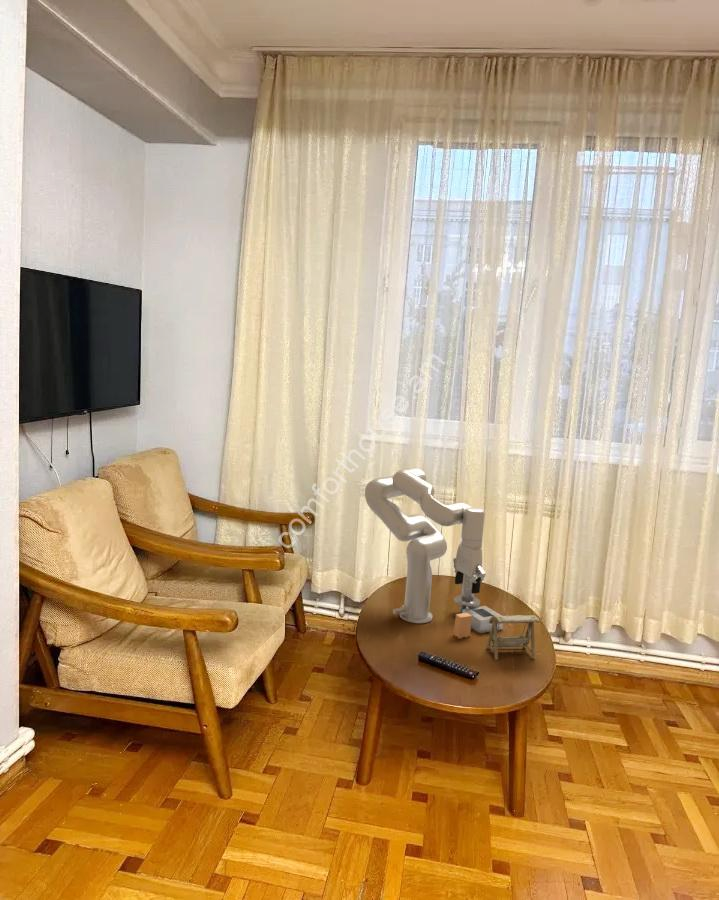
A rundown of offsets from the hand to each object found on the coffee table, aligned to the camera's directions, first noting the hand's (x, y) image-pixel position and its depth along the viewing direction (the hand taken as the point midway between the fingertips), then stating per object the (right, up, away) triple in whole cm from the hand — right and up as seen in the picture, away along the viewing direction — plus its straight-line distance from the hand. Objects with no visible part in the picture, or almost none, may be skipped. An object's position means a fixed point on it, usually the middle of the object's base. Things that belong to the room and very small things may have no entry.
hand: (466, 588), depth 246 cm
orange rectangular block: (-1, -18, +3) cm, 18 cm away
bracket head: (+5, -16, +18) cm, 24 cm away
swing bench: (+14, -21, -9) cm, 27 cm away
